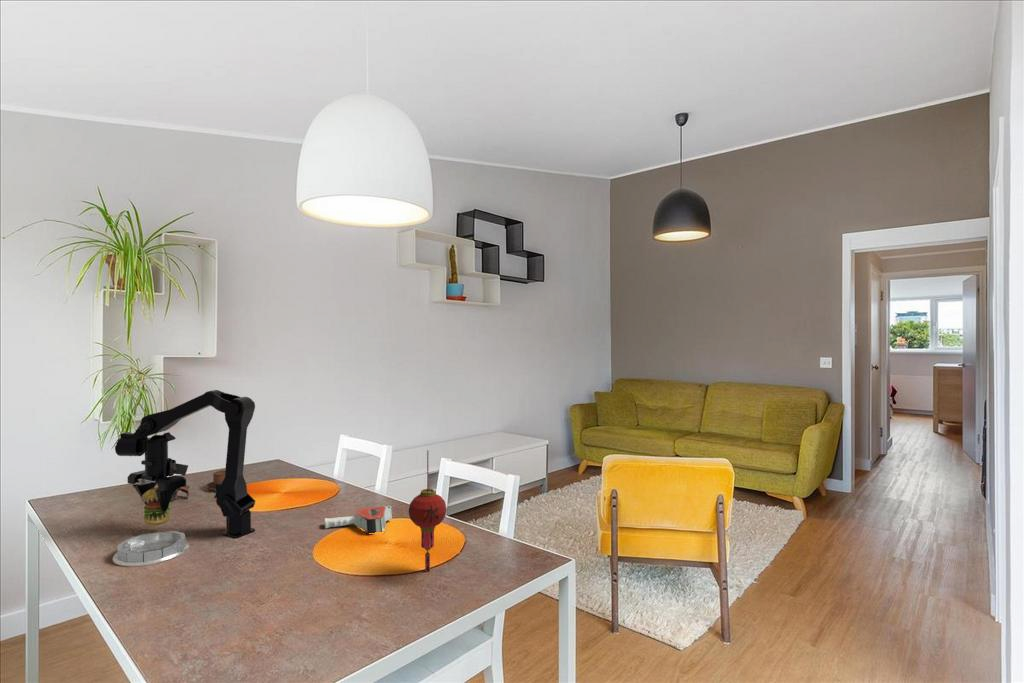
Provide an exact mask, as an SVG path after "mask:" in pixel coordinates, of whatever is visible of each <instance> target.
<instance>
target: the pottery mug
mask: <svg viewBox="0 0 1024 683" xmlns="http://www.w3.org/2000/svg"><path fill="white" fill-rule="evenodd" d="M189 489H190V486H189V484H186V486H183V487H180V488H179V489H177V490H176V491H175V492H174V493H173V496H172V498H171V500H170V503H172V502H174V501H175V498H176V496H177V494H178V493H179V491H181V492H182V493H185V494H186V497H185V498H186V499H189V496H190V491H189Z"/></svg>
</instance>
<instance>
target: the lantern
mask: <svg viewBox="0 0 1024 683" xmlns="http://www.w3.org/2000/svg"><path fill="white" fill-rule="evenodd" d="M426 456H427V458H426V459H427V460H426V461H427V462H426V463H427V465H426V466H427V467H426V468H427V469H426V470H427V472H426V473H427V474H426V476H427V478H426V479H427V480H426V488H425V489H424V488H423V489H422V490H420V493H419V494H418V495H416V496H414V497H413V499H412V500H411V502H409V507H408V515H409V519H410V520H411V521H412V523H413V524H414V525H415V526H416V527H419V529H420V531H421V536H420V542H421V548H422V549H424V550H425V551H426V552H425V554H424V556H425V558H424V566H425V567H424V568H425V569H424V572H426V571H427V572H426V573H429V572H431V553H430V552H429V551H430V550H431V549H432V548H433V547H435V528H436V526H438V525H441V523H442V522H443V521H444V519H445V518H446V516H447V511H448V510H447V504H446V501H445V500H444V498H443V497H442V496H440V495H439V494H437V493H436V490H435V489H432V488H429V450H427V452H426Z"/></svg>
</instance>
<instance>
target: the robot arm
mask: <svg viewBox="0 0 1024 683" xmlns="http://www.w3.org/2000/svg"><path fill="white" fill-rule="evenodd" d="M209 407H212V408H214V409H215V410H217V411H218V412H221V413H223V414H224V420H225V422H226V424H227V428H228V437H227V449H226V460H225V469H224V470H225V477H224V480H223V481H222V482H220V483H218V484H216V491H215V495H214V497H213V499H215V500H216V505H217V506H218V507H219V509H220V510H221V513H222V516H223V517H226V524H225V525H226V527H225V528H226V530H224V531H222V532H221V534H222V535H223V536H227V537H232V538H235V539H237V538H240V537H242V536H245V535H248V534H250V533H253V532H256V528H253V527H252V512H251V511H250V510H251V509H252V508H254V507H255V504H256V500H255V499H254V498H253V497H252V496H251V495H250V494H249V493H248V487H247V486H248V485H247V482H246V480H245V478H244V466H245V465H244V464H245V453H246V445H247V444H246V443H247V432H248V427H249V425H250V424H251V421H252V419H253V416H254V413H255V410H256V404H255V401H254V400H253V399H252V398H251V397H248V396H239V395H236V394H231V393H228V392H224V391H221V390H218V389H214V390H212V389H211V390H208V391H206V392H204V393H203V394H201V395H199V396H196V397H194V398H192V399H190V400H188V401H186V402H183V403H181V404H179V405H176V406H175V407H174V406H173V407H172V408H170V409H167V410H163V411H158V412H155V413H151V414H148V415H144V416H143V417H142V418H141V420H140V425H138V427H137V428H136V430H135V431H134V432H129V431H126V432H121V433H120V434H119V435H120V437H119V438H118V440H117V441H116V444H115V446H114V451H115V453H116V455H117V456H119V457H141V456H144V460H140V461H141V462H140V464H141V465H143V466H144V470H143V469H142V470H139V471H135V472H130V474H129V475H128V476H127V484H129V485H132V487H133V488H134V489H135V491H136V492H137V493H138V495H139V496H140V498H142V496H143V494H144V493H145V492H146V491H148V490H150V489H153V488H156V486H157V488H159V489H157V490H155V491H156V494H157V497H158V500H159V503H160V506H161V508H162V511H166V510H167V509H168V506H169V503H171V502H170V500H171V498H172V495H173V493H174V492H175V491H176V490H177V489H179V488H180V487H183V486H186V485H187V478H185V476H186V474H187V472H188V469H189V465H188V464H182V463H177V460H176V459H172V458H171V457H169V442H171V441H174V440H176V437H175V436H174V435H173V434H171V433H170V431H168V430H170V429H171V428H172V427H174V426H175V425H176V424H178V423H179V422H180V421H181V420H182V419H184V418H187V417H189V416H191V415H193V414H195V413H196V414H197V412H199V411H202V410H204V409H208V408H209ZM166 431H168V432H166ZM161 432H164V433H163V434H158V433H161ZM150 436H151V437H150ZM157 483H158V485H157ZM143 503H144V506H146V503H148V502H143Z"/></svg>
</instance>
